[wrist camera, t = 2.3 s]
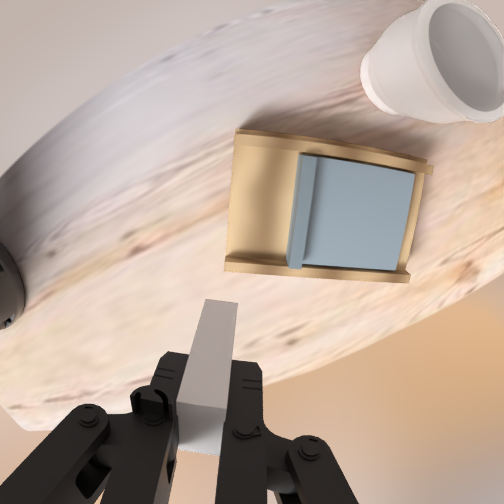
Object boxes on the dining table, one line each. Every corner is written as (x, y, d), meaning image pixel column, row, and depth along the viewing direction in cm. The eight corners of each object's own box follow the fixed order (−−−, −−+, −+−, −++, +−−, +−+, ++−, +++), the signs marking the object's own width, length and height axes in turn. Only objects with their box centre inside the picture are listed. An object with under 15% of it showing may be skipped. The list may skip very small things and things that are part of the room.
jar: (349, 29, 27) (409, -26, 13) (427, 49, 27) (509, 21, 13) (349, 117, 31) (420, 107, 16) (429, 130, 31) (518, 136, 17)
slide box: (226, 257, 36) (223, 275, 31) (236, 130, 31) (235, 128, 26) (390, 269, 37) (407, 287, 32) (411, 157, 32) (434, 161, 27)
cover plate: (285, 258, 32) (288, 268, 29) (298, 154, 29) (303, 155, 26) (391, 266, 33) (401, 276, 30) (409, 172, 29) (422, 176, 27)
